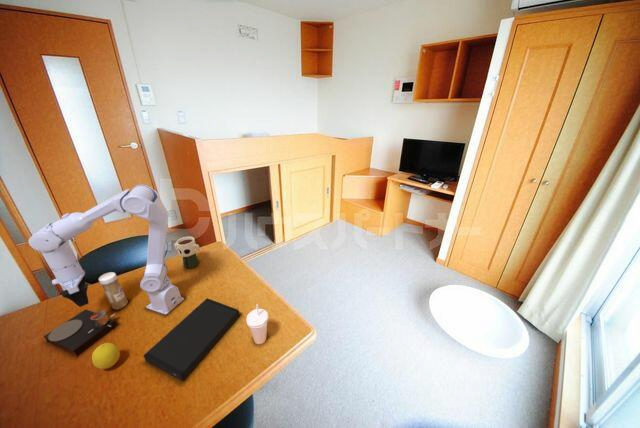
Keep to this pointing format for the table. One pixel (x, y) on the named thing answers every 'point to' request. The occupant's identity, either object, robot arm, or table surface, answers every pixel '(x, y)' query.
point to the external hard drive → (192, 339)
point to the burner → (65, 330)
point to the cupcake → (99, 319)
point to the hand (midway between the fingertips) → (83, 298)
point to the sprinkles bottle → (113, 290)
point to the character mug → (188, 251)
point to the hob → (83, 334)
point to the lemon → (105, 355)
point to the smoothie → (258, 324)
